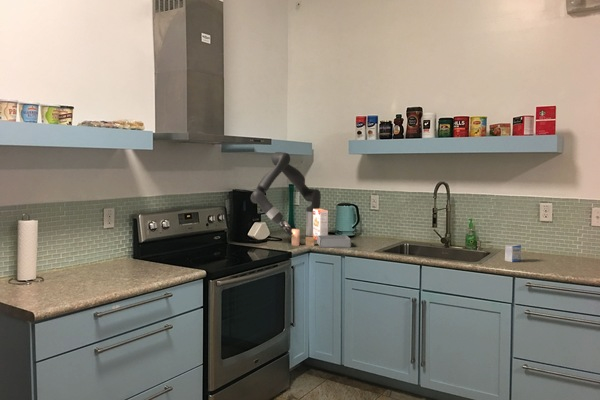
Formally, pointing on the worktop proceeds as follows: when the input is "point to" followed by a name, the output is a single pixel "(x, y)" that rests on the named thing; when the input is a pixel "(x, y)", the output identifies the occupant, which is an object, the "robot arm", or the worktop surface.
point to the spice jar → (295, 237)
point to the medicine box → (513, 253)
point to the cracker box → (320, 223)
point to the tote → (334, 241)
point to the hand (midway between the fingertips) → (292, 233)
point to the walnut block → (309, 241)
